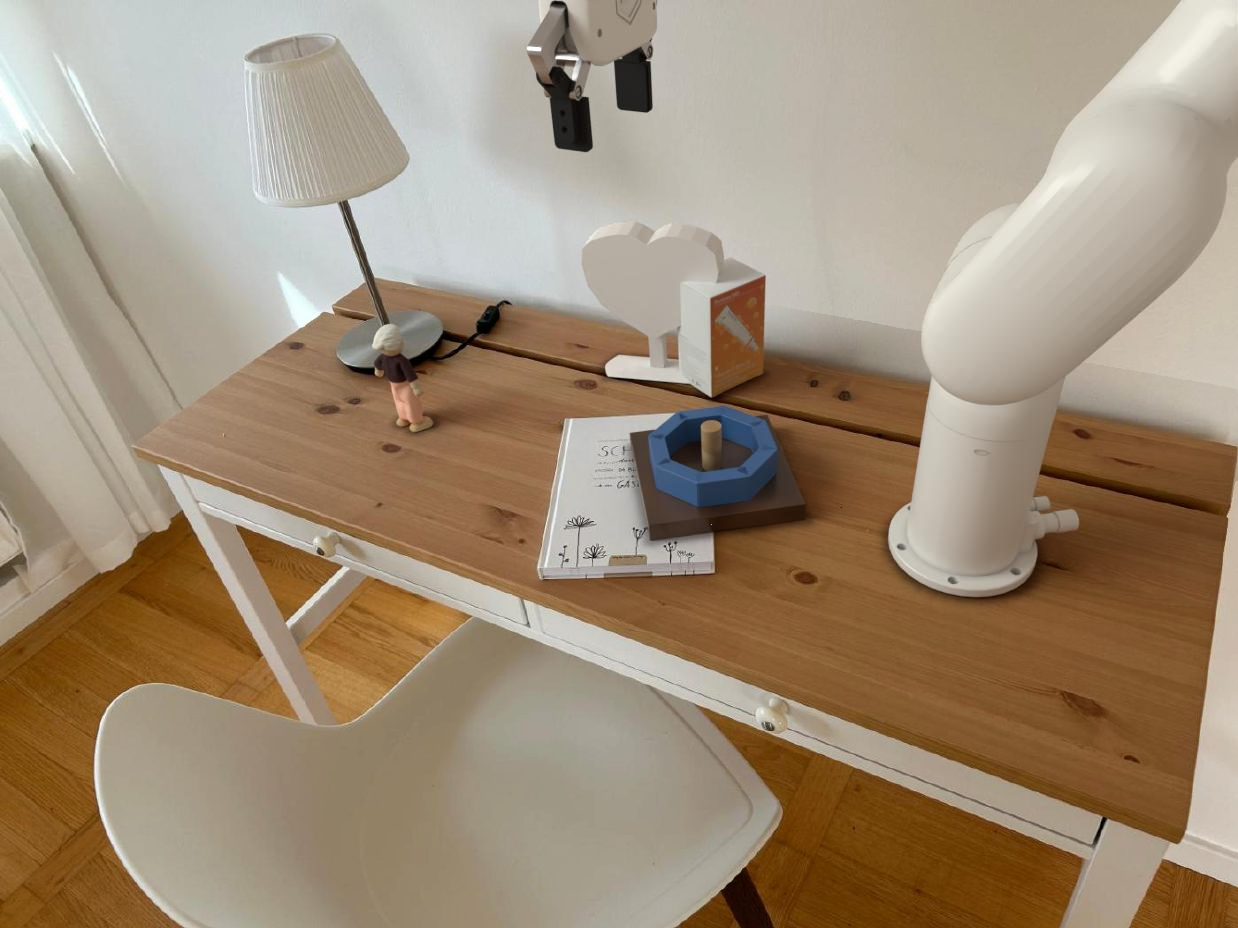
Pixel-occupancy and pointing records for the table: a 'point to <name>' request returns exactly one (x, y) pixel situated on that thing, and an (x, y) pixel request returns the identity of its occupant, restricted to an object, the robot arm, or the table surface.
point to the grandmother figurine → (400, 378)
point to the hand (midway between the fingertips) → (605, 129)
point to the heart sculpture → (648, 285)
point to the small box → (722, 329)
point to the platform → (683, 518)
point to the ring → (718, 483)
